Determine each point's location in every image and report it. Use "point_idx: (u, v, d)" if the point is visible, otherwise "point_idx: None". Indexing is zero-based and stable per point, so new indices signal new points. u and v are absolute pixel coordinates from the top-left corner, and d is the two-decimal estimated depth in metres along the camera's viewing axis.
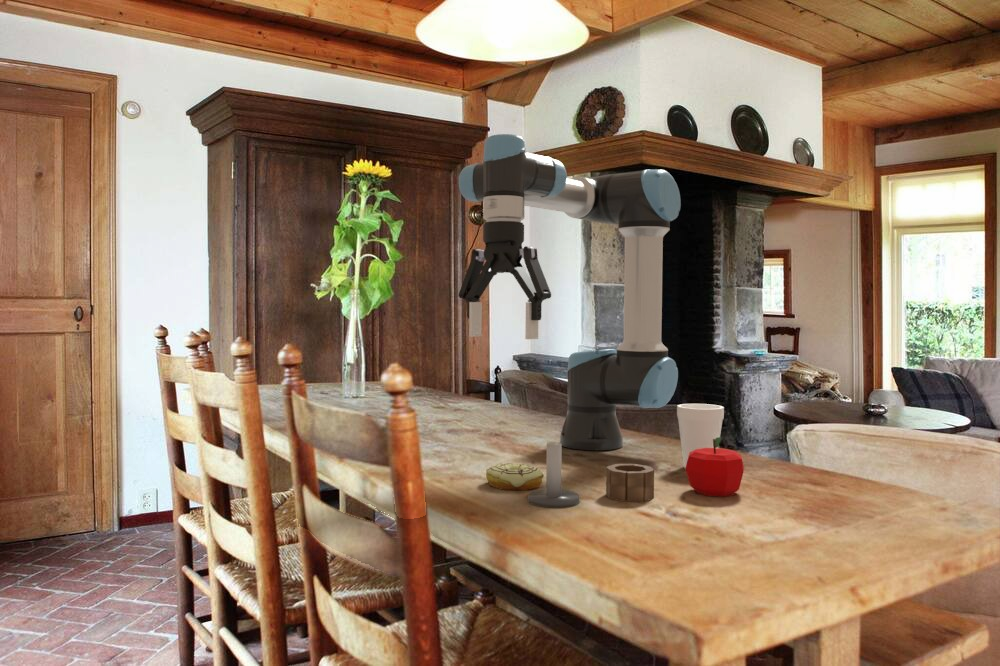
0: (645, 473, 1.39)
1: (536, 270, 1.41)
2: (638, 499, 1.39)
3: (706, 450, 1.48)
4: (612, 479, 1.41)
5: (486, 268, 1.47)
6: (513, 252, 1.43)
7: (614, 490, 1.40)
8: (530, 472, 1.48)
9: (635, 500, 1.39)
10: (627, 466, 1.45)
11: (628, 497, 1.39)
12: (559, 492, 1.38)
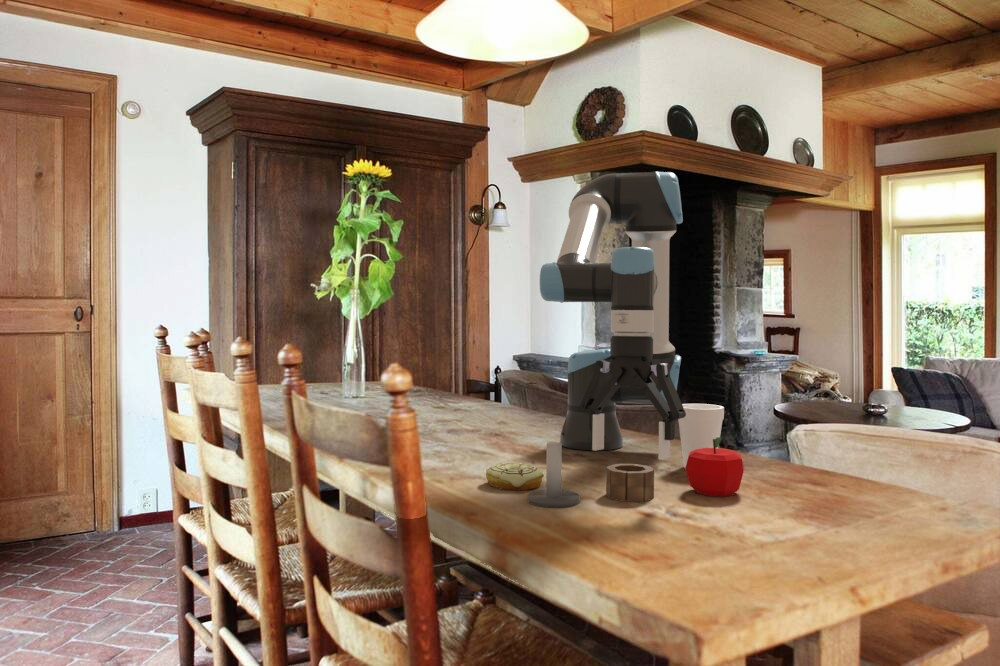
0: (645, 473, 1.39)
1: (670, 389, 1.37)
2: (638, 499, 1.39)
3: (706, 450, 1.48)
4: (612, 479, 1.41)
5: (613, 382, 1.42)
6: (644, 368, 1.39)
7: (614, 490, 1.40)
8: (530, 472, 1.48)
9: (635, 500, 1.39)
10: (627, 466, 1.45)
11: (628, 497, 1.39)
12: (559, 492, 1.38)
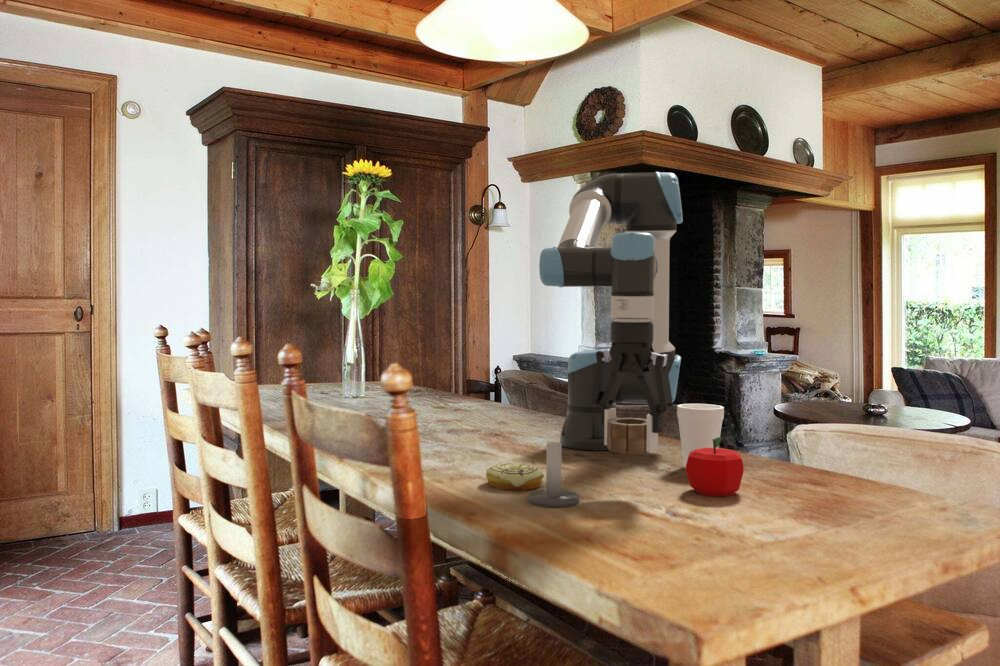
0: (646, 425, 1.39)
1: (664, 381, 1.38)
2: (639, 451, 1.39)
3: (706, 450, 1.48)
4: (613, 432, 1.41)
5: (616, 370, 1.42)
6: (644, 354, 1.39)
7: (615, 443, 1.41)
8: (530, 472, 1.48)
9: (636, 452, 1.39)
10: (628, 420, 1.46)
11: (629, 449, 1.39)
12: (559, 492, 1.38)
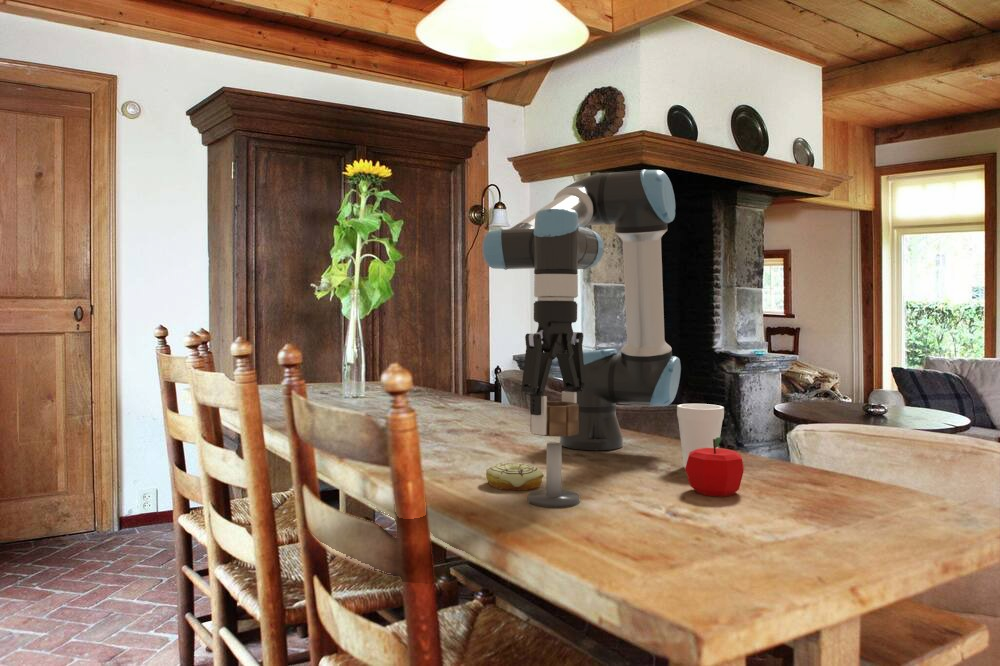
0: None
1: (528, 361, 1.33)
2: None
3: (706, 450, 1.48)
4: None
5: None
6: None
7: None
8: (530, 472, 1.48)
9: None
10: (569, 405, 1.38)
11: (530, 427, 1.39)
12: (559, 492, 1.38)
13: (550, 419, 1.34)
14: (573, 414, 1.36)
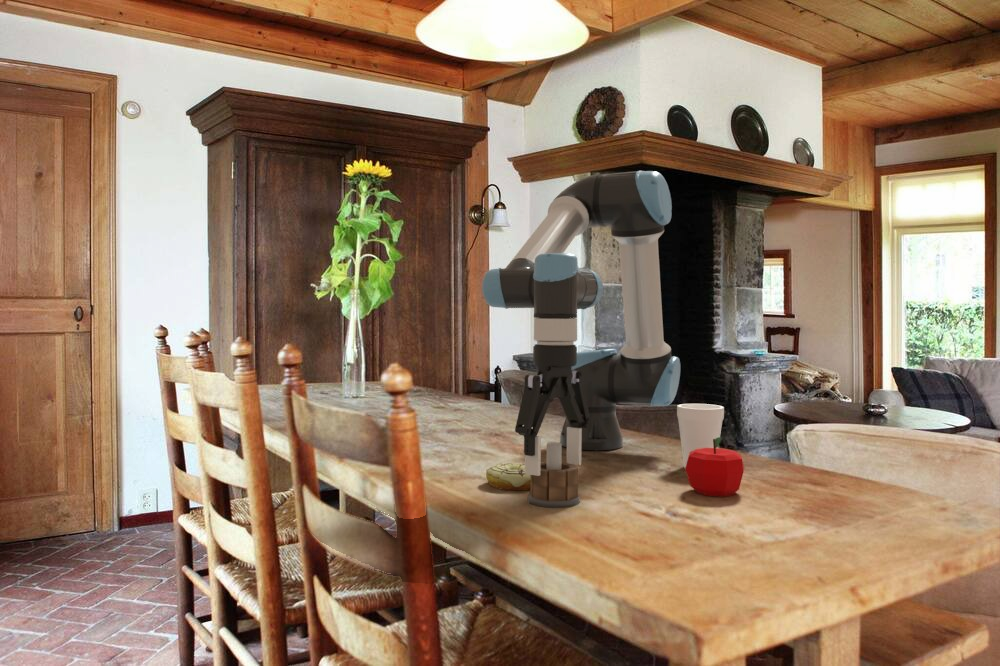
0: None
1: (524, 402, 1.33)
2: (531, 494, 1.38)
3: (706, 450, 1.48)
4: None
5: None
6: None
7: None
8: None
9: (531, 494, 1.39)
10: (569, 467, 1.39)
11: (530, 489, 1.40)
12: None
13: (549, 484, 1.35)
14: (572, 478, 1.36)
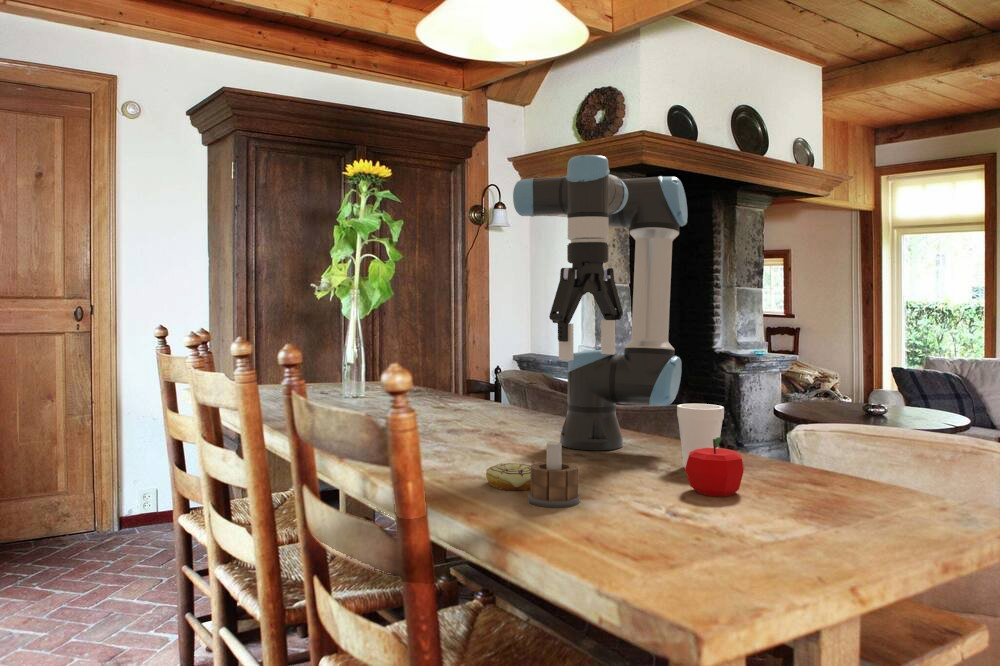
0: (534, 470, 1.37)
1: (559, 291, 1.42)
2: (531, 494, 1.38)
3: (706, 450, 1.48)
4: None
5: None
6: None
7: None
8: None
9: (531, 494, 1.39)
10: (569, 467, 1.39)
11: (530, 489, 1.40)
12: None
13: (549, 484, 1.35)
14: (572, 478, 1.36)
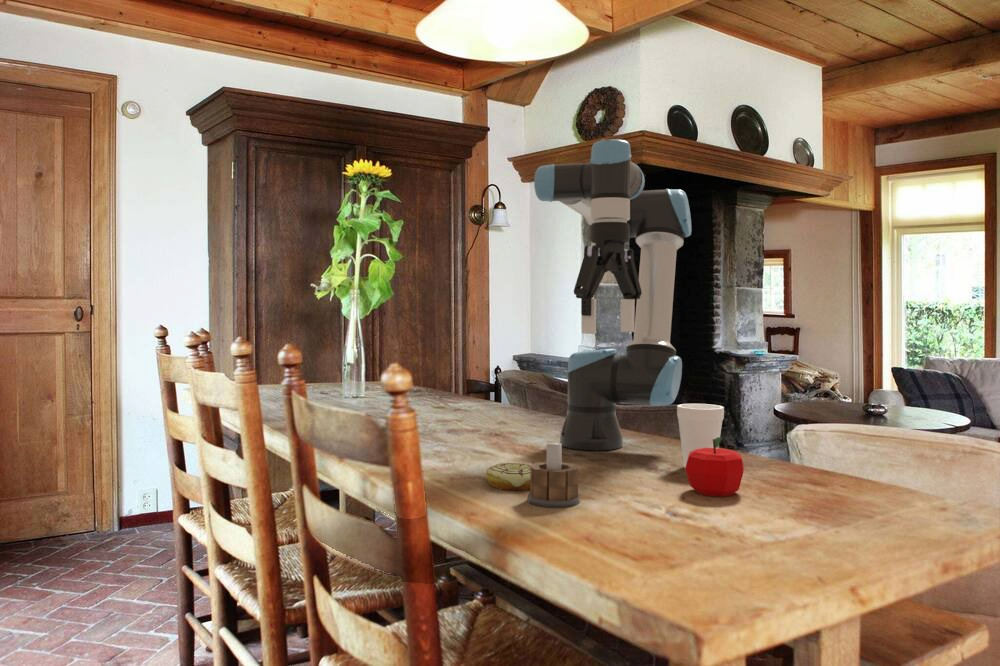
0: (534, 470, 1.37)
1: (583, 268, 1.48)
2: (531, 494, 1.38)
3: (706, 450, 1.48)
4: None
5: None
6: None
7: None
8: None
9: (531, 494, 1.39)
10: (569, 467, 1.39)
11: (530, 489, 1.40)
12: None
13: (549, 484, 1.35)
14: (572, 478, 1.36)
